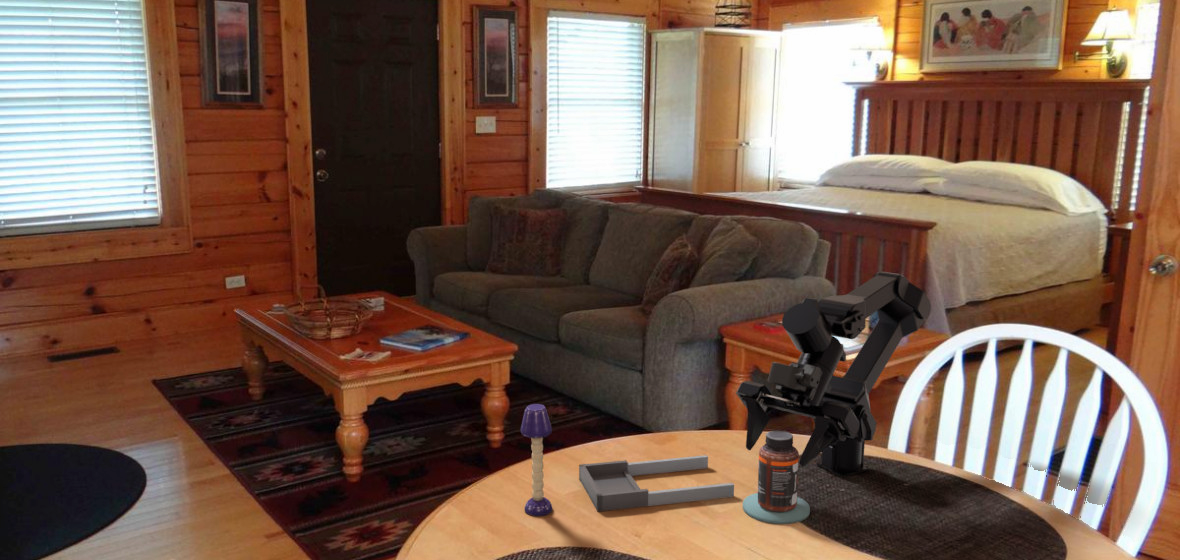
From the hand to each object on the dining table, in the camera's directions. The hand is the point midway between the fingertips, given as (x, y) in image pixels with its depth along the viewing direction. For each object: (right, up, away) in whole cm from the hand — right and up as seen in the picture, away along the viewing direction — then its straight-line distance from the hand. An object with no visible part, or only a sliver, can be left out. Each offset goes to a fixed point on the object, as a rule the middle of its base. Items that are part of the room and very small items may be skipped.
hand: (773, 456), depth 142 cm
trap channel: (-17, -7, +10) cm, 21 cm away
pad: (+1, -8, +3) cm, 9 cm away
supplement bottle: (+1, -8, +3) cm, 9 cm away
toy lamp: (-35, -9, +2) cm, 37 cm away
